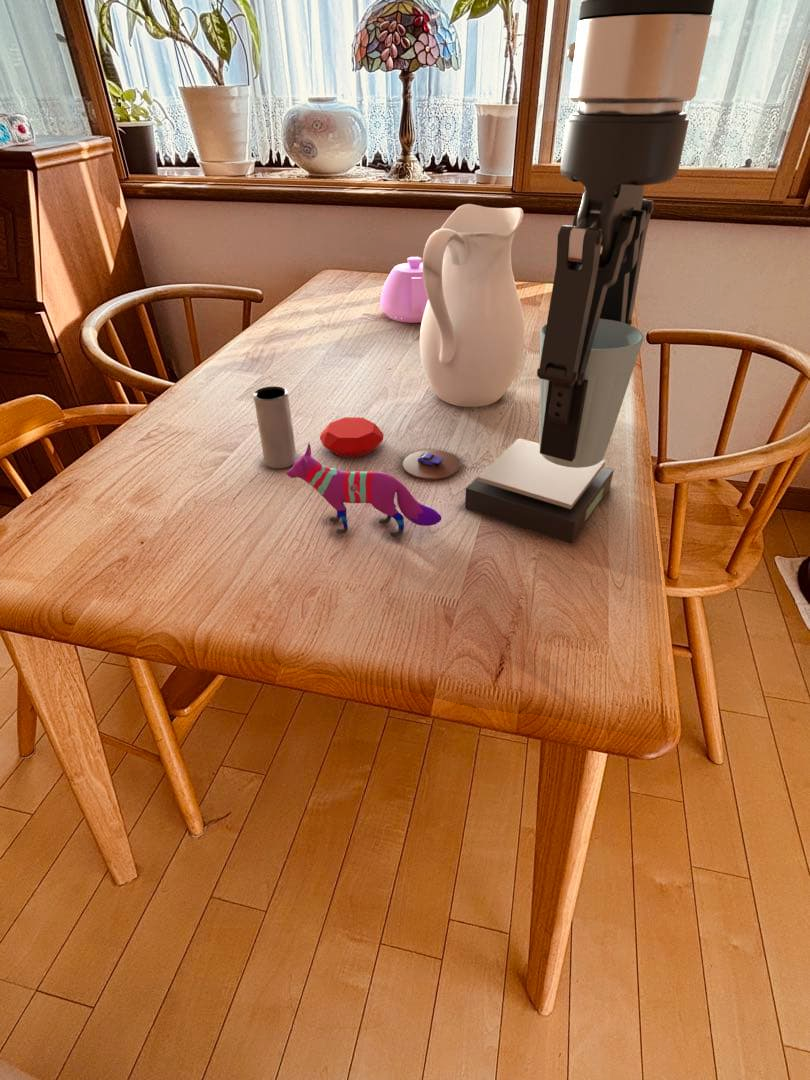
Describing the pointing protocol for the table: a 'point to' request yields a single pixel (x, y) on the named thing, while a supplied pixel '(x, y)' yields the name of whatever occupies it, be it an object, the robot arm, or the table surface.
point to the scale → (538, 491)
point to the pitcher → (472, 307)
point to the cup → (599, 389)
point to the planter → (275, 426)
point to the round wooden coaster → (431, 465)
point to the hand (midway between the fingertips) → (574, 435)
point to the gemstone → (351, 437)
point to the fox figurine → (362, 493)
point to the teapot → (405, 292)
